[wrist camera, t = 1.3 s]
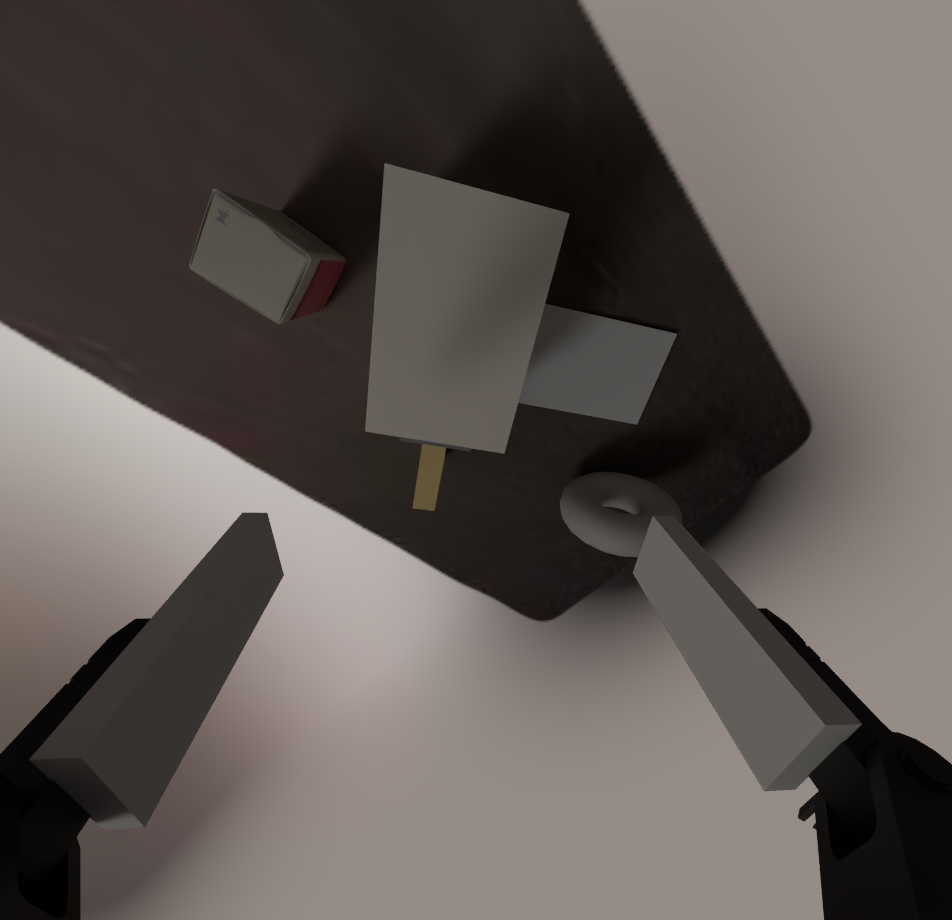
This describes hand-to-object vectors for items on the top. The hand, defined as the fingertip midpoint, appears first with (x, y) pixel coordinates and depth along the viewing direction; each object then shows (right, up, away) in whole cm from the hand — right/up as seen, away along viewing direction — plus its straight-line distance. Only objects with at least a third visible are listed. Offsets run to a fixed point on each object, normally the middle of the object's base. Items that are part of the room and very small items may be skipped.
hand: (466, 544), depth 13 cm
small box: (-12, +17, +13) cm, 24 cm away
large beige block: (-1, +14, +15) cm, 21 cm away
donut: (+12, +1, +23) cm, 26 cm away
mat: (+10, +11, +18) cm, 23 cm away
